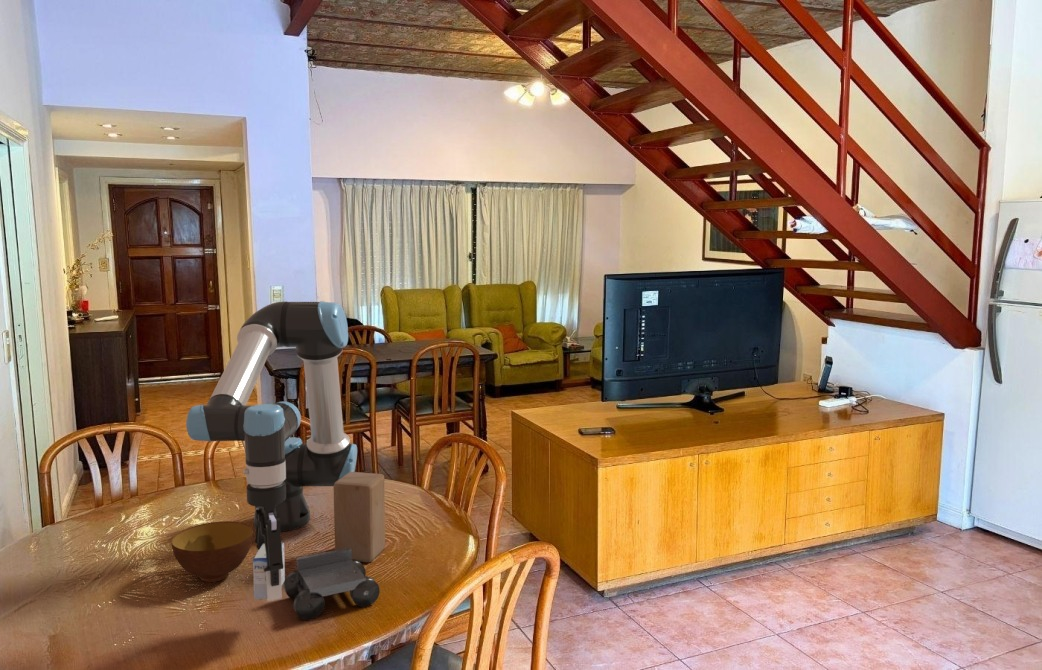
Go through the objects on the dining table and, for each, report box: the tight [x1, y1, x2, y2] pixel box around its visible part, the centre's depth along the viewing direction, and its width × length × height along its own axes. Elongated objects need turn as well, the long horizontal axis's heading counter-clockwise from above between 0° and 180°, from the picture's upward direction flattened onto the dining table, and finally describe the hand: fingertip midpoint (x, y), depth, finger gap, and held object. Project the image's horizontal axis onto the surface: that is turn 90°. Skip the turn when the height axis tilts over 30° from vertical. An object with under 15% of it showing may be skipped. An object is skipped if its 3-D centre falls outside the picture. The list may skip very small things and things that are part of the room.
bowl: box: [171, 520, 254, 583], centre depth 175 cm, size 18×18×10 cm
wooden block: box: [333, 471, 386, 563], centre depth 188 cm, size 10×10×20 cm
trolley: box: [283, 547, 381, 621], centre depth 164 cm, size 12×18×9 cm, turn 119°
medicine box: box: [252, 542, 286, 600], centre depth 152 cm, size 8×4×9 cm, turn 5°
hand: (269, 589), depth 152 cm, fingers closed on medicine box, 9 cm apart
